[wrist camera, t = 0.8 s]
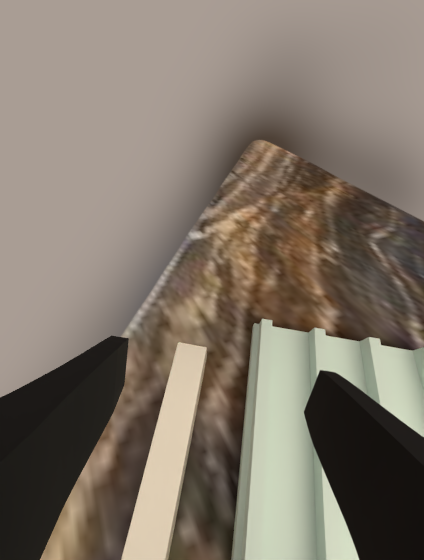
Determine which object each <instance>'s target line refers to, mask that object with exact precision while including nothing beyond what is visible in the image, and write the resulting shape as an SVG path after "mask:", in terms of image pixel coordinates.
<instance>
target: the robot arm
mask: <svg viewBox="0 0 424 560" xmlns="http://www.w3.org/2000/svg"><path fill="white" fill-rule="evenodd" d="M128 340H129V339H128V338H122V337H116V336H110V337H109V338H107V339H105V340H104V341H102V342H100V343H99V344H97V345H95V346H94V347H92V348H90V349H89V350H87V351H85V352H84V353H82V354H81V355H79V356H77V357H75V358H74V359H72V360H70V361H69V362H67V363H65V364H64V365H62V366H60V367H58V368H56V369H55V370H53V371H51V372H49V373H47V374H45V375H43V376H42V377H40V378H38V379H36V380H34V381H32V382H30V383H29V384H27V385H25V386H23V387H21V388H19V389H17V390H15V391H13V392H11V393H9V394H7V395H5V396H3V397H1V398H0V560H40V558H41V556H42V554H43V551H44V549H45V547H46V545H47V542H48V540H49V538H50V536H51V533H52V531H53V529H54V527H55V524H56V522H57V520H58V518H59V515H60V513H61V511H62V509H63V507H64V505H65V503H66V501H67V499H68V497H69V495H70V493H71V491H72V489H73V487H74V485H75V483H76V481H77V479H78V477H79V476H80V474H81V472H82V470H83V468H84V466H85V464H86V463H87V461H88V459H89V457H90V455H91V453H92V451H93V449H94V448H95V446H96V444H97V442H98V440H99V438H100V436H101V435H102V433H103V431H104V429H105V427H106V425H107V423H108V421H109V419H110V417H111V416H112V414H113V411H114V409H115V407H116V404H117V402H118V399H119V397H120V394H121V392H122V389H123V387H124V382H125V371H126V361H127V350H128ZM304 415H305V419H306V423H307V427H308V430H309V433H310V437H311V440H312V443H313V445H314V448H315V450H316V453H317V455H318V458H319V460H320V463H321V465H322V467H323V470H324V472H325V475H326V477H327V479H328V482H329V484H330V487H331V489H332V491H333V494H334V496H335V498H336V501H337V503H338V506H339V508H340V510H341V513H342V515H343V517H344V520H345V522H346V525H347V527H348V530H349V533H350V535H351V538H352V540H353V543H354V546H355V549H356V552H357V555H358V558H359V560H424V437H423V436H421V435H420V434H418V433H417V432H416V431H414V430H413V429H412V428H410V427H409V426H408V425H406V424H405V423H404V422H402V421H401V420H400V419H398V418H397V417H396V416H394V415H393V414H392V413H390V412H389V411H388V410H386V409H385V408H384V407H382V406H381V405H380V404H378V403H377V402H376V401H375V400H373V399H372V398H371V397H369V396H368V395H367V394H365V393H364V392H363V391H361V390H360V389H359V388H357V387H356V386H355V385H353V384H352V383H351V382H349V381H348V380H346V379H345V378H344V377H342V376H341V375H339V374H337V373H336V372H330V371H324V370H320V371H319V374H318V377H317V379H316V382H315V384H314V387H313V389H312V392H311V394H310V397H309V399H308V402H307V405H306V407H305V410H304Z"/></svg>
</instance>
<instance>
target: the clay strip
mask: <svg viewBox="0 0 424 560" xmlns="http://www.w3.org/2000/svg"><path fill="white" fill-rule="evenodd" d="M206 359H207V347H201V346H196V345H191V344H186V343H180V342H178V345H177V349H176V352H175V356H174V360H173V364H172V368H171V372H170V375H169V379H168V383H167V387H166V391H165V395H164V398H163V402H162V406H161V410H160V414H159V418H158V421H157V425H156V429H155V433H154V437H153V440H152V444H151V448H150V452H149V456H148V460H147V463H146V467H145V471H144V475H143V479H142V483H141V486H140V490H139V494H138V498H137V502H136V506H135V509H134V513H133V517H132V521H131V525H130V528H129V532H128V536H127V540H126V544H125V548H124V551H123V555H122V559H121V560H168V558H169V553H170V548H171V542H172V537H173V532H174V527H175V521H176V516H177V511H178V506H179V501H180V495H181V490H182V485H183V480H184V474H185V469H186V464H187V459H188V453H189V448H190V443H191V438H192V432H193V427H194V422H195V417H196V411H197V406H198V401H199V396H200V391H201V385H202V380H203V375H204V370H205V364H206Z"/></svg>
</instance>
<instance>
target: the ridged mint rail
mask: <svg viewBox="0 0 424 560" xmlns="http://www.w3.org/2000/svg"><path fill="white" fill-rule="evenodd" d="M320 370H324V371H330V372H336V373H337V374H339V375H341V376H342V377H344V378H345V379H346V380H348V381H349V382H351V383H352V384H353V385H355V386H356V387H357V388H359V389H360V390H361V391H363V392H364V393H365V394H367V395H368V396H369V397H371V398H372V399H373V400H375V401H376V402H377V403H378V404H380V405H381V406H382V407H384V408H385V409H386V410H388V411H389V412H390V413H392V414H393V415H394V416H396V417H397V418H398V419H400V420H401V421H402V422H404V423H405V424H406V425H408V426H409V427H410V428H412V429H413V430H414V431H416V432H417V433H418V434H420V435H421V436H423V437H424V347H422V348H419V349H416V350H413V351H412V350H406V349H400V348H394V347H389V346H383V345H381V342H380V339H378V338H372V337H368V338H366V339H364V340H362V341H354V340H348V339H343V338H337V337H331V336H326V334H325V329H319V328H313V329H312V330H311V331H310V332H309V333H308V332H302V331H296V330H291V329H285V328H279V327H273V326H272V320H267V319H262V320H261V322H260V323H259V324H256V323H254V325H253V328H252V339H251V350H250V361H249V372H248V383H247V394H246V405H245V416H244V426H243V437H242V448H241V459H240V470H239V481H238V492H237V503H236V514H235V525H234V535H233V546H232V557H231V560H359V558H358V555H357V552H356V549H355V546H354V543H353V540H352V538H351V535H350V533H349V530H348V527H347V525H346V522H345V520H344V517H343V515H342V513H341V510H340V508H339V506H338V503H337V501H336V498H335V496H334V494H333V491H332V489H331V487H330V484H329V482H328V479H327V477H326V475H325V472H324V470H323V467H322V465H321V463H320V460H319V458H318V455H317V453H316V450H315V448H314V445H313V443H312V440H311V437H310V433H309V430H308V427H307V423H306V419H305V415H304V410H305V407H306V405H307V402H308V399H309V397H310V394H311V392H312V389H313V387H314V384H315V382H316V379H317V377H318V374H319V371H320Z"/></svg>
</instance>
